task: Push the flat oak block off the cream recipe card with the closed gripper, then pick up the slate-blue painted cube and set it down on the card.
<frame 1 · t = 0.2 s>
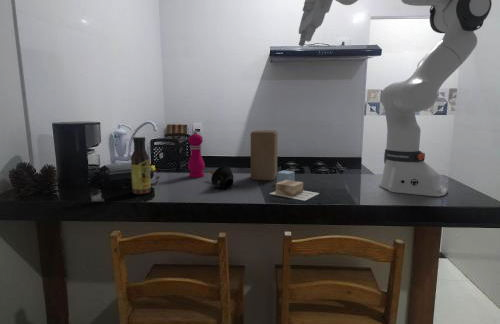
hand: (304, 43, 116), 51 cm above the worktop, tool tilted 20°, fingers open, 8 cm apart
sauce bottle: (142, 193, 121), on the worktop
recipe card: (294, 194, 118), on the worktop
oak block: (289, 192, 119), resting on recipe card
pepper mill: (196, 176, 148), on the worktop
black rounded dome: (220, 185, 132), on the worktop
block: (264, 178, 143), on the worktop
blue cube: (285, 184, 133), on the worktop
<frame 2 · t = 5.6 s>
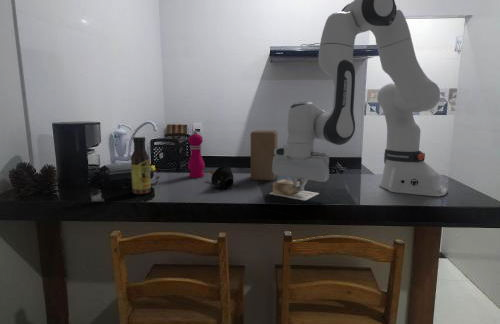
hand: (299, 190, 116), 2 cm above the worktop, tool pointing down, fingers closed
oak block: (286, 192, 120), resting on recipe card, touching gripper
everything else where it was.
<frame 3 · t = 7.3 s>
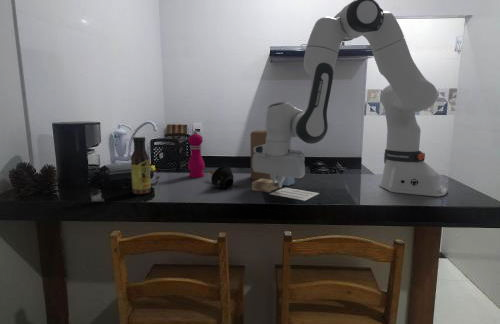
hand: (277, 186, 122), 2 cm above the worktop, tool pointing down, fingers closed
oak block: (265, 190, 125), on the worktop, touching gripper
everything else where it was.
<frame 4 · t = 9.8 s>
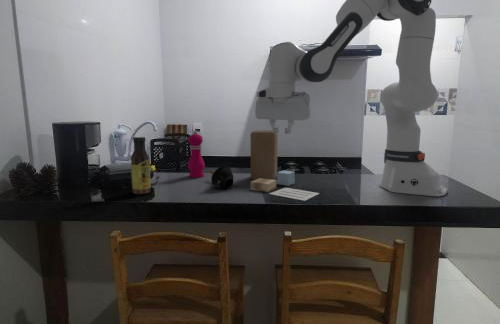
hand: (281, 133, 118), 21 cm above the worktop, tool pointing down, fingers open, 4 cm apart
oak block: (263, 190, 125), on the worktop
everything else where it was.
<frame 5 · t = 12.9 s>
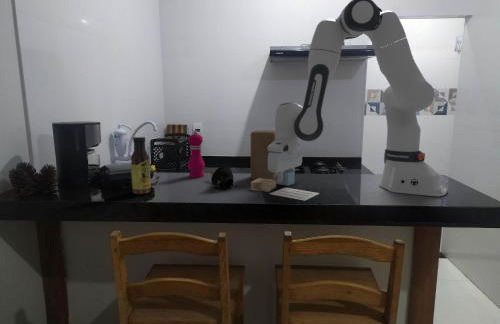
hand: (285, 180, 132), 2 cm above the worktop, tool pointing down, fingers closed on blue cube, 5 cm apart
blue cube: (285, 184, 133), on the worktop, touching gripper
everything else where it was.
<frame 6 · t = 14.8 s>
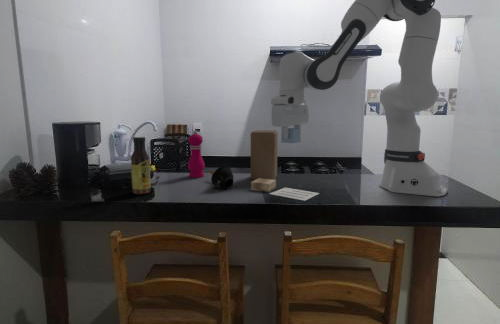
hand: (291, 137, 123), 19 cm above the worktop, tool pointing down, fingers closed on blue cube, 5 cm apart
blue cube: (290, 142, 124), point 17 cm above the worktop, touching gripper
everything else where it was.
when the fingers open (3 cm above the worktop, at t = 18.8 s): blue cube drops 1 cm, resting on recipe card.
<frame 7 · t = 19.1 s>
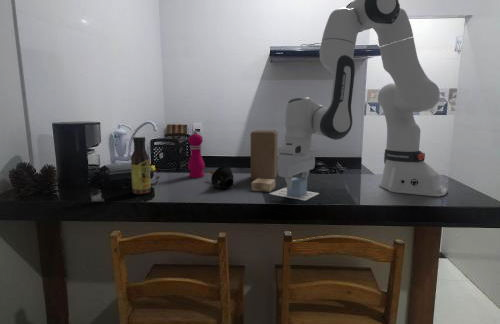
hand: (297, 185, 117), 3 cm above the worktop, tool pointing down, fingers open, 8 cm apart
blue cube: (296, 193, 117), resting on recipe card
everything else where it was.
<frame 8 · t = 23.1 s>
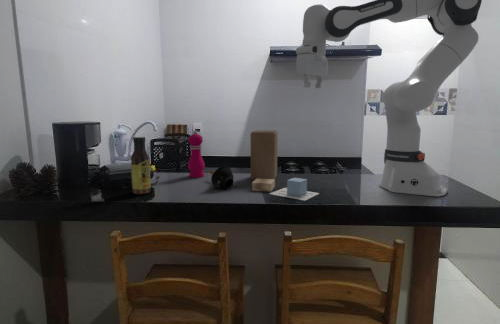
hand: (312, 87, 132), 37 cm above the worktop, tool pointing down, fingers open, 8 cm apart
nothing on the worktop moved.
at the end: blue cube inside the target area on the recipe card (1.0 cm from its centre), point 0.3 cm above the recipe card's base; oak block touching worktop; blue cube tilted 0° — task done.
